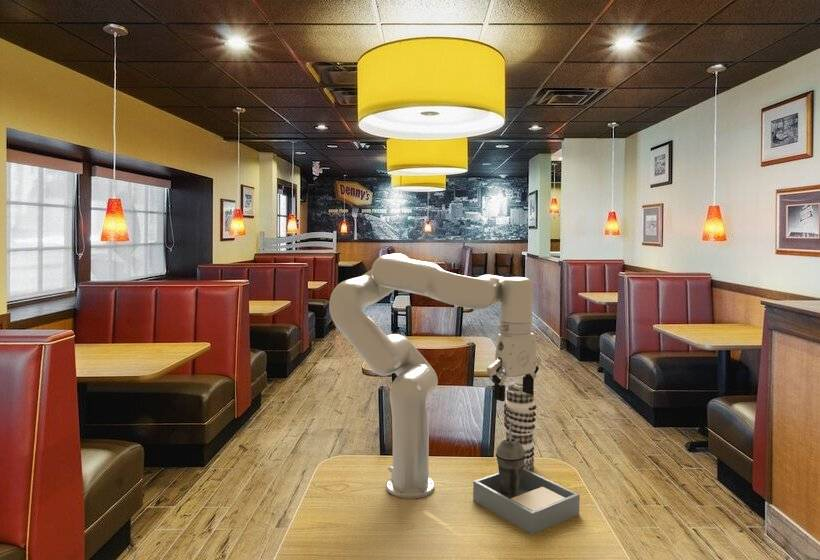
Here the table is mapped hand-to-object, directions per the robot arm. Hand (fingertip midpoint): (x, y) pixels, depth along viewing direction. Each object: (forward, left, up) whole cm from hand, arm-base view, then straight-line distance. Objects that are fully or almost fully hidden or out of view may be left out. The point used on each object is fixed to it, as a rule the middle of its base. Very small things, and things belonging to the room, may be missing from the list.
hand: (513, 396), depth 148 cm
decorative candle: (-14, +16, -28) cm, 35 cm away
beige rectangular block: (+9, 0, -27) cm, 28 cm away
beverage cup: (0, 0, -27) cm, 27 cm away
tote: (+4, 0, -28) cm, 28 cm away
